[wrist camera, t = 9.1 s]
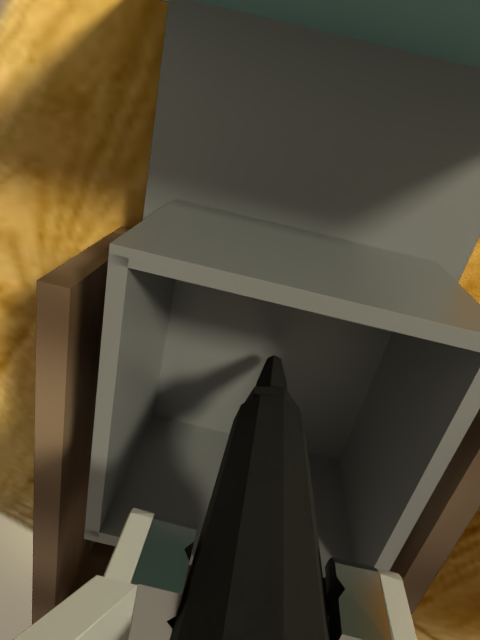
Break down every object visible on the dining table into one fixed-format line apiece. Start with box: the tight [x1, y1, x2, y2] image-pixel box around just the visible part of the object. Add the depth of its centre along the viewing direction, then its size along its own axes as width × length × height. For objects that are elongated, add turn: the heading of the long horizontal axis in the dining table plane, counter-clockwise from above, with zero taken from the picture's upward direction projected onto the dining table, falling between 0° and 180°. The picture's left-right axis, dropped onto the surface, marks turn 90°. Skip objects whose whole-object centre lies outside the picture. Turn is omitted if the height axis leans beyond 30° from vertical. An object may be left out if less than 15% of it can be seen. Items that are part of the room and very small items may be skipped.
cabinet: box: [84, 0, 480, 578], centre depth 14 cm, size 17×15×10 cm
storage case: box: [32, 227, 480, 625], centre depth 20 cm, size 18×15×7 cm
